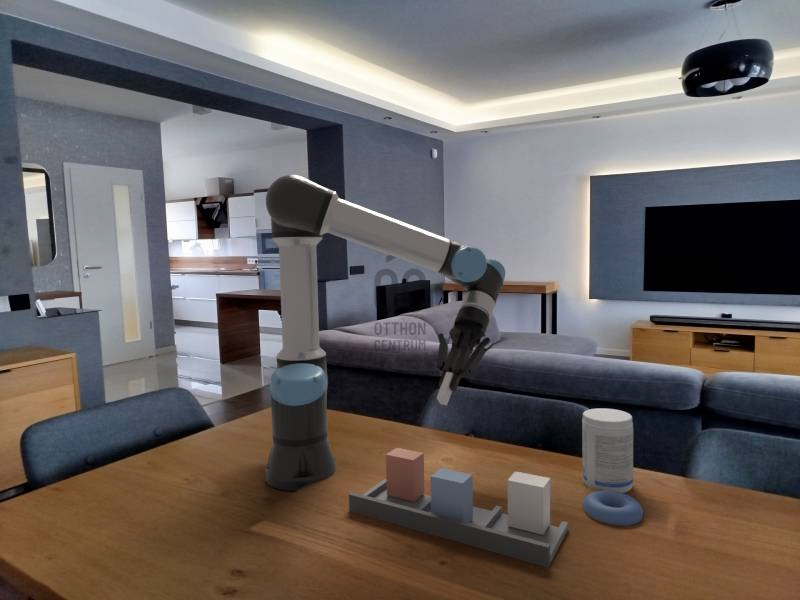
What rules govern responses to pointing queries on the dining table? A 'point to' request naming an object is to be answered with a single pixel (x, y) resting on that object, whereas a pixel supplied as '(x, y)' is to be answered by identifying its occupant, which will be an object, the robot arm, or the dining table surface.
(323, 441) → the robot arm
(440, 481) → the blue rectangular block
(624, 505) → the doughnut
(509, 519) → the white rectangular block
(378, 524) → the dining table surface
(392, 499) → the grey divided tray
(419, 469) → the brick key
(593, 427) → the supplement tub
